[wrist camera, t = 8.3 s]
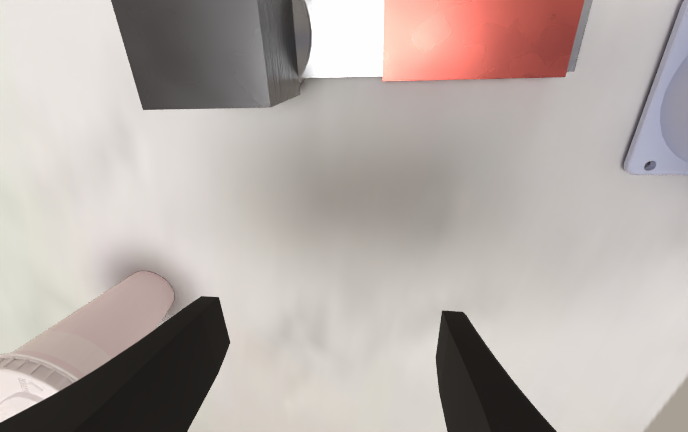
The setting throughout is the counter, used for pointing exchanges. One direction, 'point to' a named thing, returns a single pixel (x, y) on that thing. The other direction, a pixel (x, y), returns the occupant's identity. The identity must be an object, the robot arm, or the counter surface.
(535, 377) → the counter surface
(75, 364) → the smoothie
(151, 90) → the charcoal grey cube
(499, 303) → the counter surface
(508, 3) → the ratchet
